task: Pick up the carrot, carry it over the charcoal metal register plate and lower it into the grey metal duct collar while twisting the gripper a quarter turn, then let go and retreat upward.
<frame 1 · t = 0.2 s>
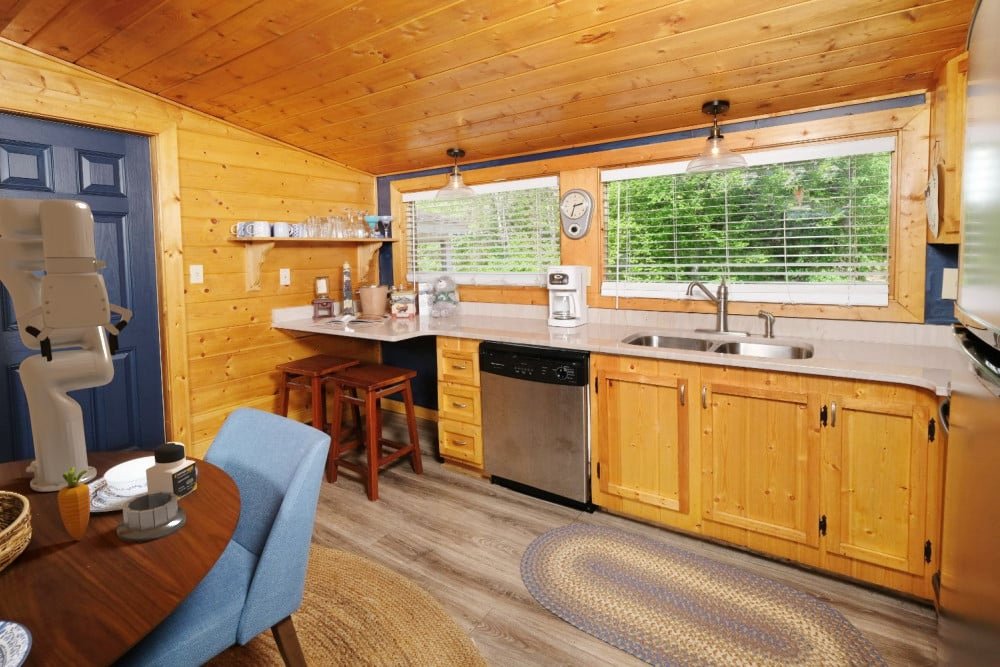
hand: (82, 357, 105), 36 cm above the table, tool pointing down, fingers open, 9 cm apart
medicine bottle: (173, 494, 127), on the table
duct collar: (152, 526, 113), on the table
carrot: (79, 541, 107), on the table
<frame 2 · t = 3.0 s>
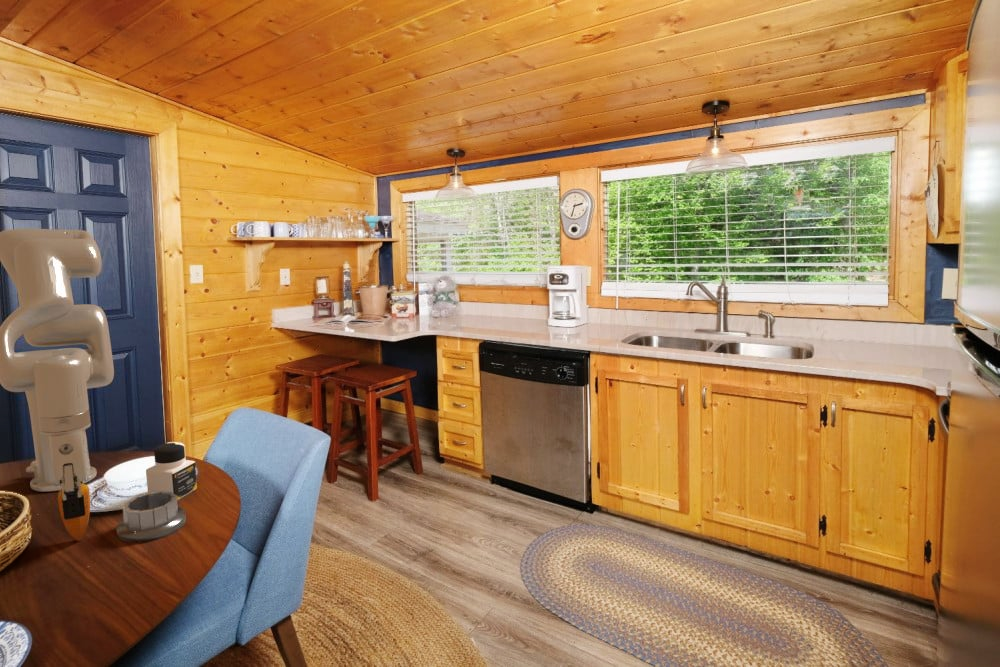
hand: (75, 510, 106), 6 cm above the table, tool pointing down, fingers closed on carrot, 4 cm apart
carrot: (79, 541, 107), on the table, touching gripper
everything else where it was.
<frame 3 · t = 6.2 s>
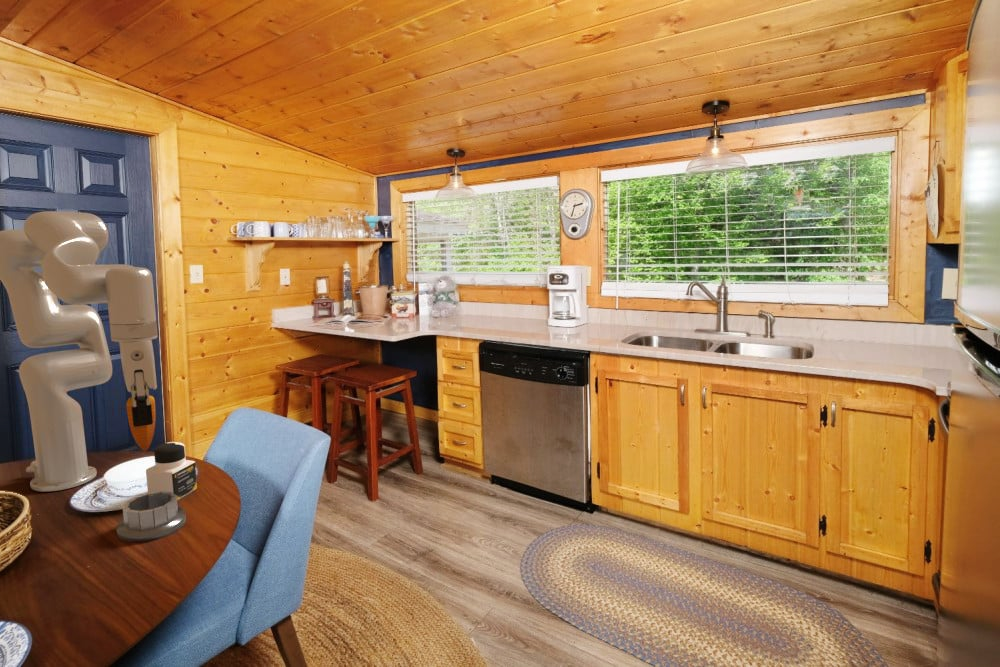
hand: (142, 420, 109), 23 cm above the table, tool pointing down, fingers closed on carrot, 4 cm apart
carrot: (145, 451, 110), point 16 cm above the table, touching gripper
everything else where it was.
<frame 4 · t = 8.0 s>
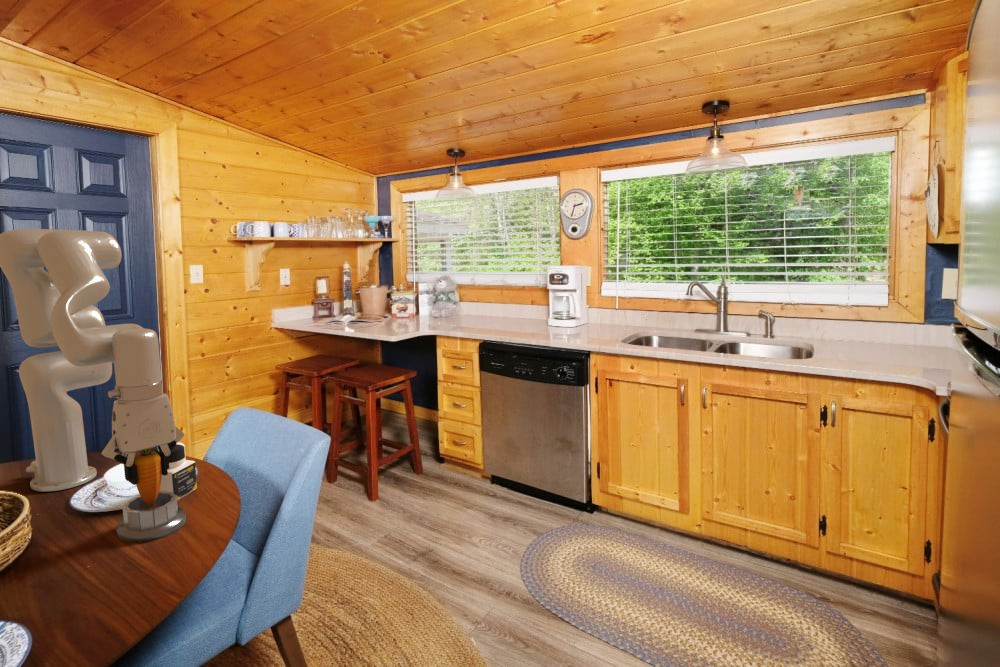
hand: (148, 477, 111), 11 cm above the table, tool pointing down, fingers closed on carrot, 4 cm apart
carrot: (151, 507, 112), point 4 cm above the table, touching gripper
everything else where it was.
when the fingers open (9 cm above the table, at t = 9.4 s): carrot drops 1 cm, resting on duct collar.
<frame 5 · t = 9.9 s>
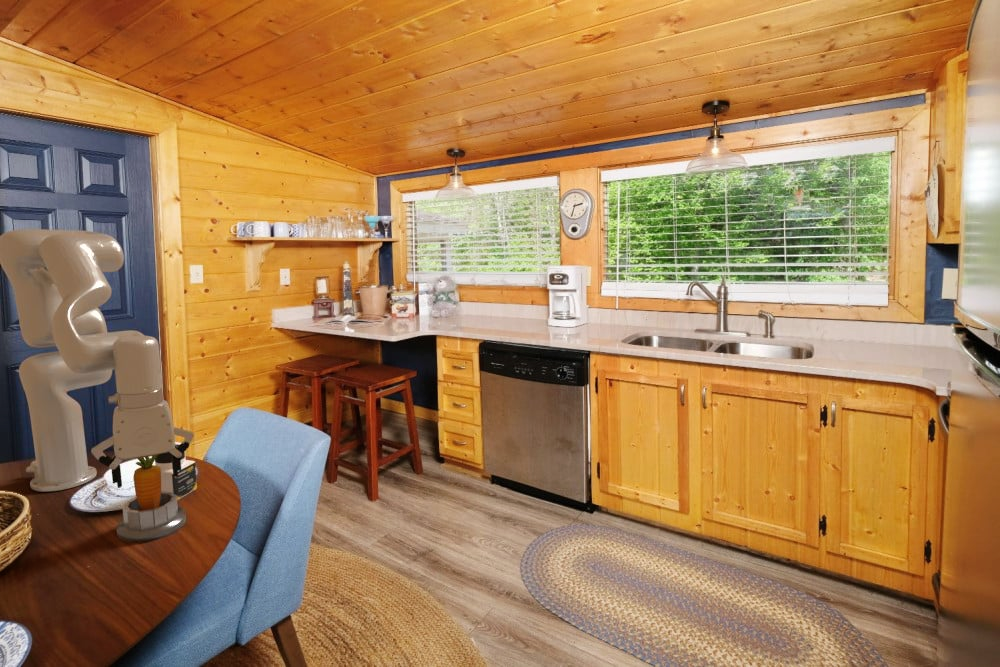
hand: (148, 479, 111), 10 cm above the table, tool pointing down, fingers open, 9 cm apart
carrot: (151, 520, 113), point 1 cm above the table, touching duct collar
everything else where it was.
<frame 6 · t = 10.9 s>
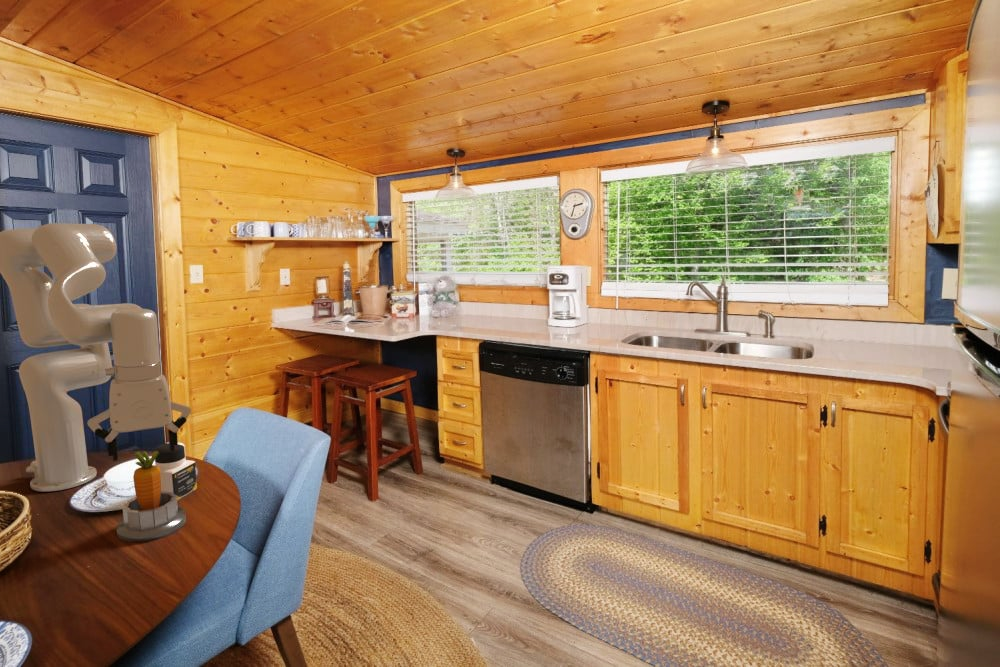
hand: (144, 453, 111), 16 cm above the table, tool pointing down, fingers open, 9 cm apart
nothing on the table moved.
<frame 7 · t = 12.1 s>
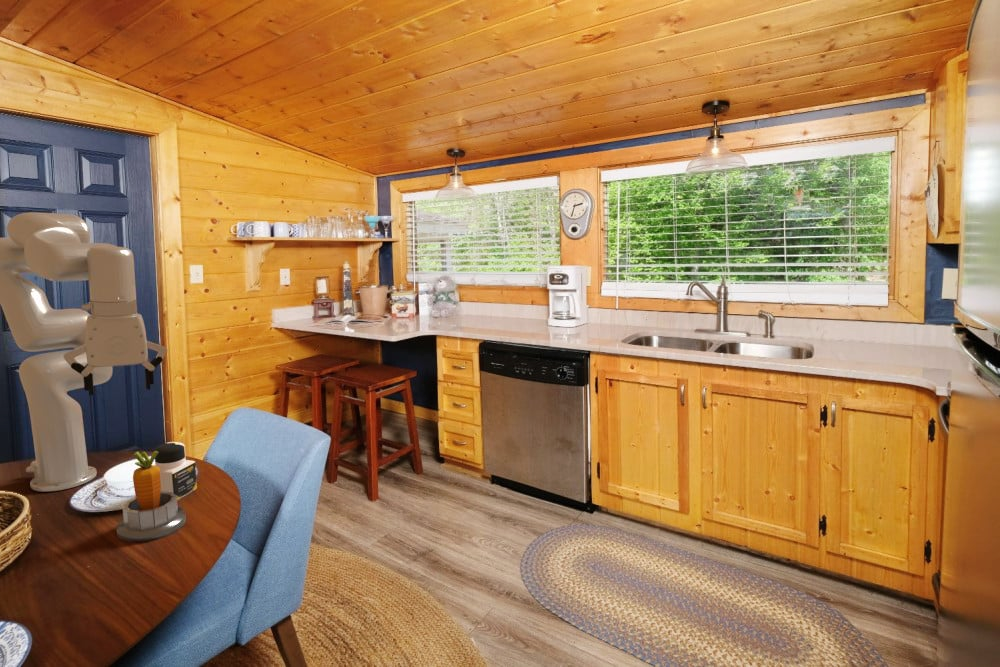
hand: (120, 390, 113), 28 cm above the table, tool pointing down, fingers open, 9 cm apart
nothing on the table moved.
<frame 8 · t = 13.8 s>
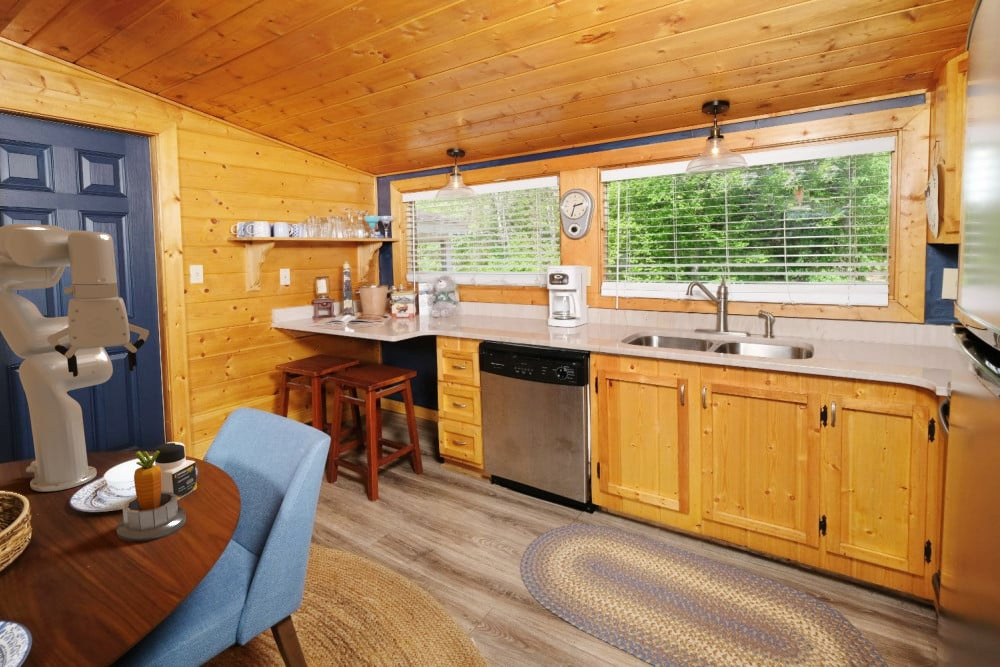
hand: (104, 372, 116), 30 cm above the table, tool pointing down, fingers open, 9 cm apart
nothing on the table moved.
at the end: carrot 0.2 cm from the duct collar (horizontally); carrot point 1.3 cm above the table; carrot tilted 1° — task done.
